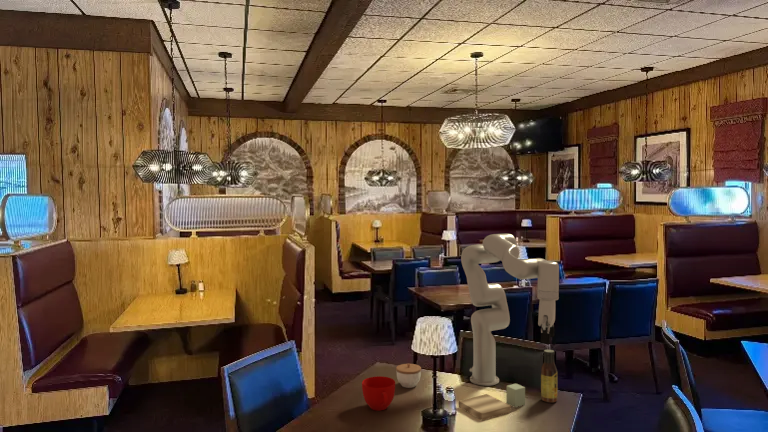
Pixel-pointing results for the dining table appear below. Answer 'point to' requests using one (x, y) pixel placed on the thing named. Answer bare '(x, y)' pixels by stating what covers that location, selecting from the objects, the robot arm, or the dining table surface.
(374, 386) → the ceramic cup
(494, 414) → the riser block
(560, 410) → the dining table surface
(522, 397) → the green block
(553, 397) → the sauce bottle
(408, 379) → the lidded jar
